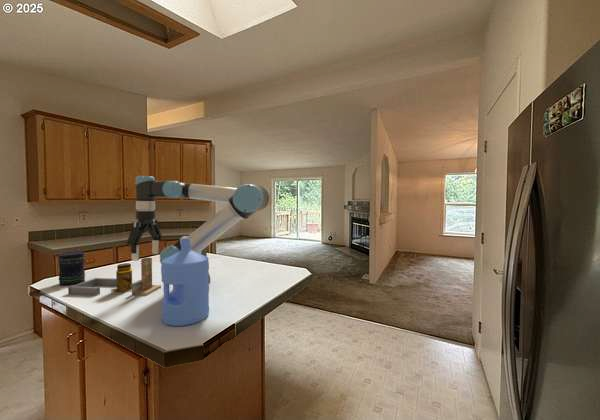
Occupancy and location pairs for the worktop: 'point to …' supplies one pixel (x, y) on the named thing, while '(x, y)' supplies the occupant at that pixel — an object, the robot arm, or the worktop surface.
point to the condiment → (123, 278)
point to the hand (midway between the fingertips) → (146, 257)
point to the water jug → (185, 287)
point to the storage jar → (71, 268)
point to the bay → (87, 288)
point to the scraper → (145, 279)
